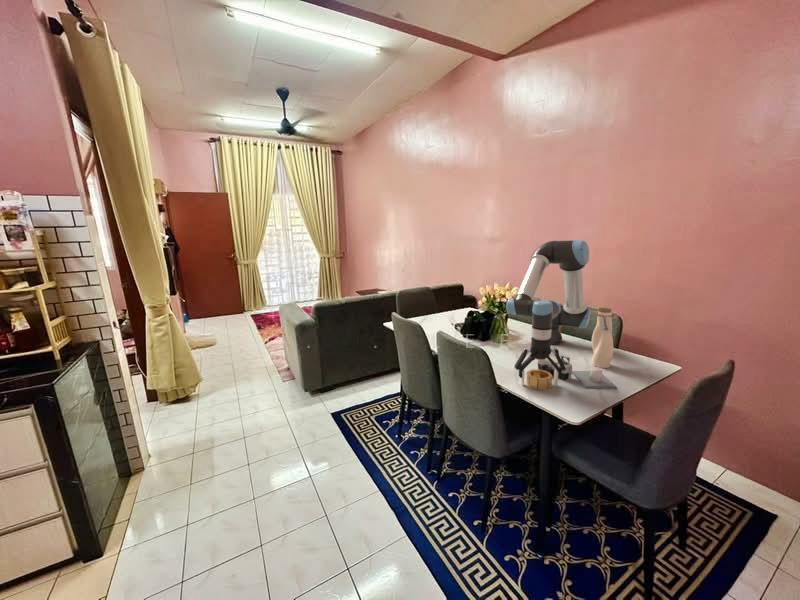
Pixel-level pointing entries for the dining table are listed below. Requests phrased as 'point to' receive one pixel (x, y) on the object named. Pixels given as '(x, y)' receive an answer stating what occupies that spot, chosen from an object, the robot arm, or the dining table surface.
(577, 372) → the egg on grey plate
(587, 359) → the dining table surface
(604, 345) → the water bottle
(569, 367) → the camera
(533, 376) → the ring
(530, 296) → the robot arm
